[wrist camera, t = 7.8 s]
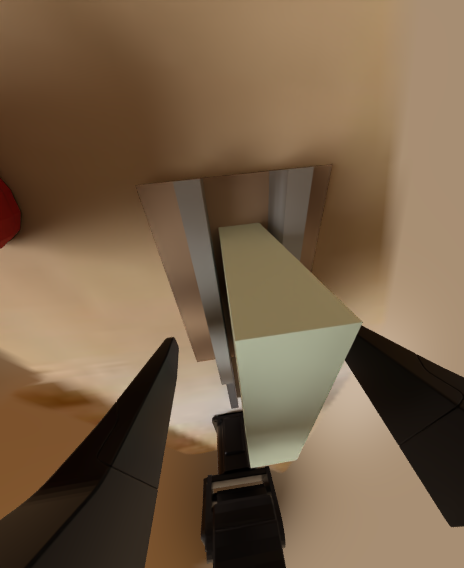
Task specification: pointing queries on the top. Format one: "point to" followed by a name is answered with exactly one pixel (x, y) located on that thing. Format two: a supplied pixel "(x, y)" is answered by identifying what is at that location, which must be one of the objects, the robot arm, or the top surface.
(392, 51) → the top surface
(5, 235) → the plastic cup
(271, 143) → the top surface
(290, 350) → the door panel
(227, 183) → the track plinth
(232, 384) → the grey upright bracket
